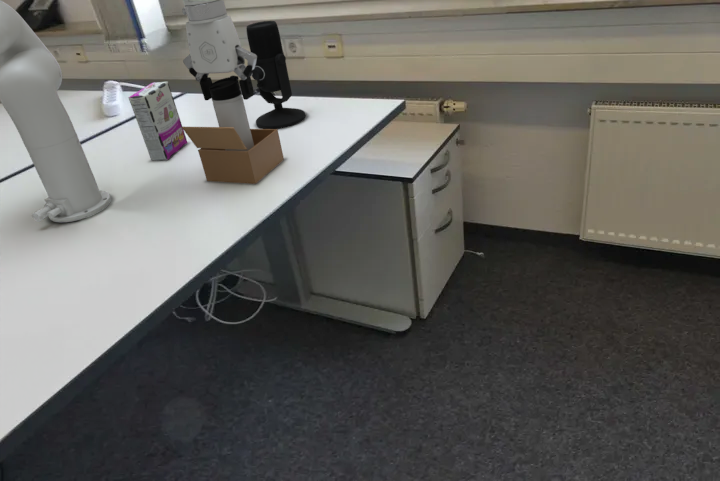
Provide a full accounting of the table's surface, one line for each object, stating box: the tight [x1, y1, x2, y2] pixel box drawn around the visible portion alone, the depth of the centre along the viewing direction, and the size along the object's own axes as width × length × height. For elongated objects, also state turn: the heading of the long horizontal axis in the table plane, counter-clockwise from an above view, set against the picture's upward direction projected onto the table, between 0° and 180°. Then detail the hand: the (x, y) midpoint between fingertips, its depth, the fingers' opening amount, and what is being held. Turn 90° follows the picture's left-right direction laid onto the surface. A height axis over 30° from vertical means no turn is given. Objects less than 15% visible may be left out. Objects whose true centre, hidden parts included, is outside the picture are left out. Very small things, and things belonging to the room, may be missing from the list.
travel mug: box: [209, 75, 254, 151], centre depth 122 cm, size 6×7×20 cm
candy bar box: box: [128, 81, 188, 162], centre depth 140 cm, size 11×5×16 cm, turn 168°
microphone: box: [245, 20, 307, 130], centre depth 148 cm, size 14×14×25 cm
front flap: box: [182, 126, 247, 150], centre depth 116 cm, size 6×12×1 cm
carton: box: [197, 128, 285, 185], centre depth 126 cm, size 13×13×7 cm
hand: (229, 97), depth 119 cm, fingers open, 9 cm apart
